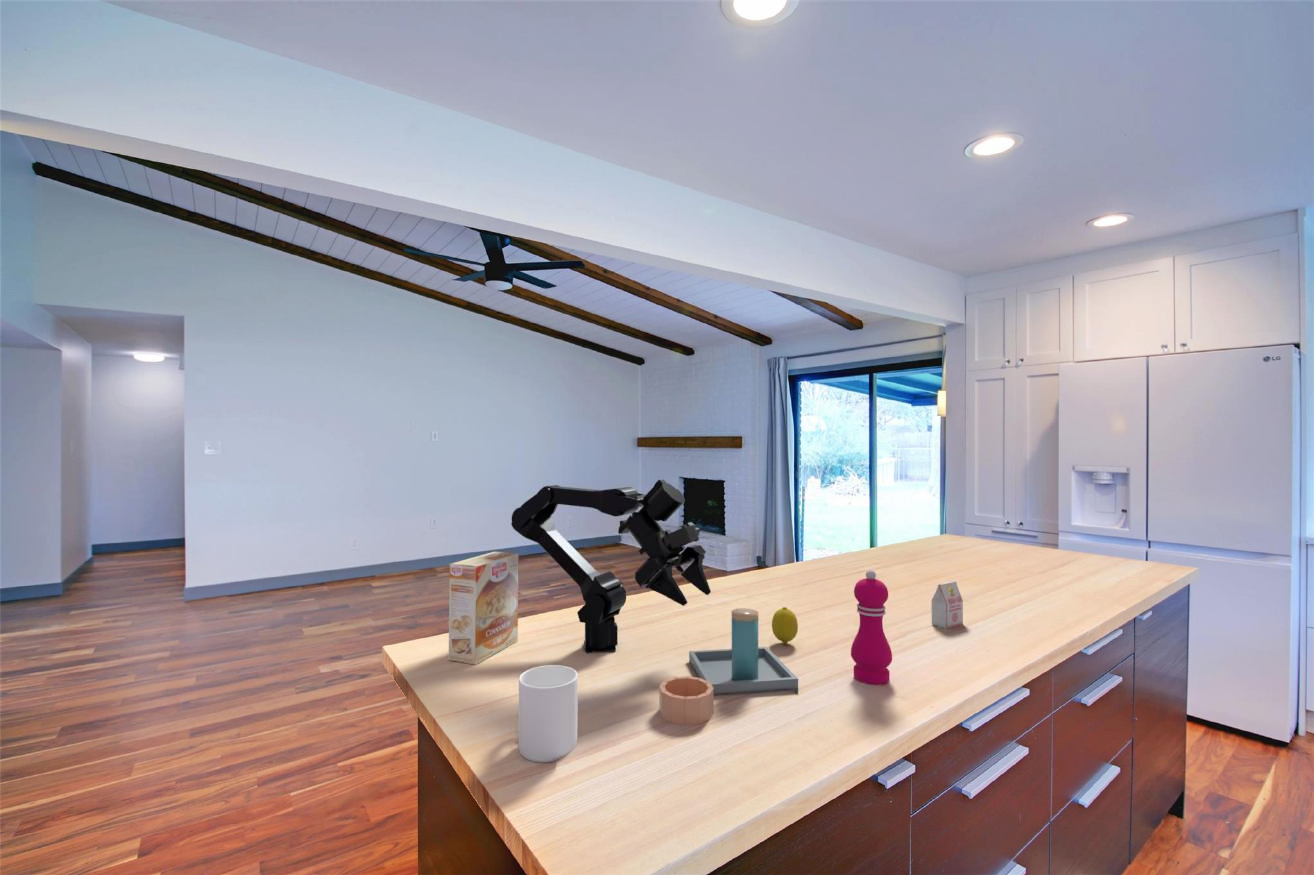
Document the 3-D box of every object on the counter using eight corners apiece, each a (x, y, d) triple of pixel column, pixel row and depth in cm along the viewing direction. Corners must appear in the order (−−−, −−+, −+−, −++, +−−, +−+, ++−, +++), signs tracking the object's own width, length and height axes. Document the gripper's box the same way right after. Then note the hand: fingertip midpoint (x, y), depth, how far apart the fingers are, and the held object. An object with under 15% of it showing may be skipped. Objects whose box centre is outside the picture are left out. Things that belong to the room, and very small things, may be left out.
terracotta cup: (664, 730, 87) (664, 700, 87) (656, 705, 95) (656, 678, 95) (718, 725, 88) (718, 696, 88) (705, 701, 97) (705, 674, 97)
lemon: (798, 649, 121) (798, 611, 122) (771, 647, 123) (771, 609, 123) (797, 640, 127) (797, 604, 127) (771, 638, 128) (771, 602, 128)
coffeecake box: (476, 665, 112) (476, 566, 113) (446, 660, 115) (447, 563, 115) (519, 641, 126) (520, 552, 127) (492, 637, 129) (493, 550, 129)
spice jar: (745, 686, 100) (744, 617, 100) (726, 677, 104) (726, 611, 104) (764, 679, 103) (763, 612, 103) (745, 671, 107) (744, 606, 107)
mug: (498, 735, 85) (499, 665, 86) (549, 718, 90) (549, 653, 91) (534, 771, 76) (534, 693, 76) (588, 751, 81) (588, 677, 81)
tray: (709, 699, 97) (709, 684, 97) (689, 663, 113) (689, 651, 113) (798, 693, 100) (798, 678, 100) (766, 659, 116) (766, 646, 116)
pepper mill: (891, 673, 109) (890, 567, 109) (893, 688, 102) (893, 575, 102) (851, 668, 111) (850, 565, 111) (850, 683, 104) (850, 572, 104)
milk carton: (931, 624, 138) (931, 583, 138) (948, 620, 142) (948, 579, 142) (946, 628, 135) (945, 586, 135) (962, 624, 139) (962, 582, 139)
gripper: (647, 515, 106) (699, 582, 100) (697, 506, 122) (745, 564, 115) (614, 553, 110) (662, 620, 104) (666, 539, 126) (710, 597, 120)
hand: (697, 598), depth 111 cm, fingers open, 9 cm apart
